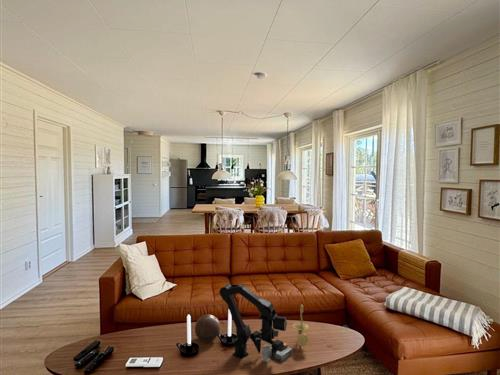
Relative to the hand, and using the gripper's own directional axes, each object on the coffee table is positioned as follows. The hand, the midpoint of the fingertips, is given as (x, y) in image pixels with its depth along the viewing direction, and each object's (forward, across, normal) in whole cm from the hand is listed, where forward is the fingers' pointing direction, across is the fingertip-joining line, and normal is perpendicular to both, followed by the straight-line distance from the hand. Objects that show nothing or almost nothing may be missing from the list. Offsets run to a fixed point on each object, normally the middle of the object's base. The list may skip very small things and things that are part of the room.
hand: (266, 355), depth 166 cm
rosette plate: (+2, -2, -10) cm, 11 cm away
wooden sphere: (+3, +39, +7) cm, 40 cm away
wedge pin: (+2, 0, 0) cm, 3 cm away
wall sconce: (+3, -6, -26) cm, 27 cm away
